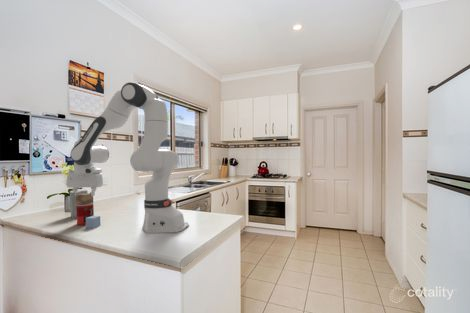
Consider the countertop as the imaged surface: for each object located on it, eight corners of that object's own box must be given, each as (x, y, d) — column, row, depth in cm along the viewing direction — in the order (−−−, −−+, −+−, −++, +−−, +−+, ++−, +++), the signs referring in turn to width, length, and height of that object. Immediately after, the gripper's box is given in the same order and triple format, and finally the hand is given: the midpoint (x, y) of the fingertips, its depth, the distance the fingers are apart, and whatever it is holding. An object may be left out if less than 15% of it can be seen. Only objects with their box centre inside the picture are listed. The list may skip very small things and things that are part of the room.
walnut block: (93, 202, 126) (93, 193, 126) (84, 204, 120) (84, 195, 120) (84, 202, 127) (84, 193, 127) (76, 204, 121) (75, 194, 121)
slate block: (100, 225, 120) (100, 216, 119) (93, 228, 115) (93, 218, 115) (93, 225, 120) (92, 215, 120) (85, 227, 116) (85, 218, 116)
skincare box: (85, 213, 145) (85, 188, 145) (88, 215, 140) (88, 189, 140) (69, 216, 139) (69, 190, 139) (72, 218, 134) (71, 191, 134)
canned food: (85, 226, 119) (85, 205, 119) (72, 225, 120) (72, 204, 120) (97, 221, 126) (96, 202, 126) (85, 221, 128) (84, 201, 128)
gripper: (62, 170, 122) (63, 196, 122) (95, 170, 118) (96, 196, 118) (73, 170, 128) (73, 194, 128) (104, 169, 124) (105, 194, 124)
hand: (84, 195), depth 123 cm, fingers open, 8 cm apart
